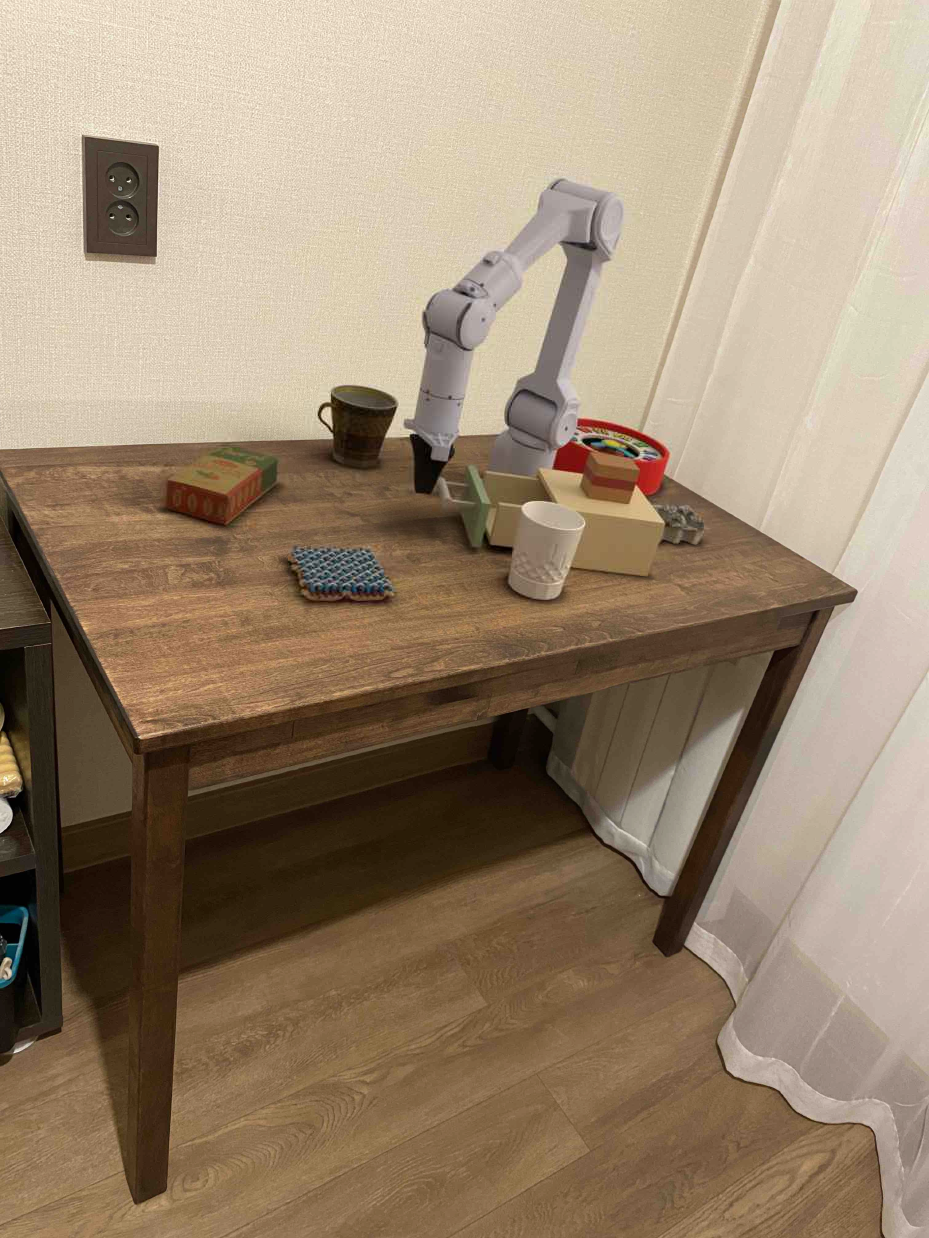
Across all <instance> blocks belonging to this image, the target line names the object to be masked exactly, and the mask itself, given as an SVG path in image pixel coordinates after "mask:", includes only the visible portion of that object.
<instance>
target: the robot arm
mask: <svg viewBox="0 0 929 1238" xmlns="http://www.w3.org/2000/svg"><path fill="white" fill-rule="evenodd" d="M537 202H538V203H537V209H536V212H535V213H534V215H533V216H532V217H531V218H530V220H529V221H528V222H527V223H526V224H525V225H524V227H523V228H522V229H521V230H520V231H519V232H518V234H517V235H516V236H515V237H514V238H513V240H512V241H511V242H510V243H509V245H507V247H506V248H505V249H504V251H499V250H492V251H489V252H487V253H486V254H484V256H483V257H482V259H481V260H480V261H478V263H476V265H475V266H474V267H473V268H472V269H470V271H469V272H468V273H466V274H465V276H464V277H462V279H461V280H459V281H458V282H457V283H456V284H455V285H454V286H453V287H452V288H451V289H450V288H446V289H442V290H439V291H437V292H435V293H434V294H433V295H432V296H431V297H430V299H429V300H428V302H427V303H426V306H425V309H424V310H422V312H421V324H422V328H423V330H424V340H423V345H424V348H425V350H426V353H425V357H424V363H423V368H422V374H421V378H420V384H419V390H418V396H417V400H416V406H415V410H414V411H415V412H414V417H413V418H404V419H403V426H404V429H407V430H412V431H413V432H414V433H410V434H409V440H410V443H411V447H412V453H413V454H412V455H413V486H414V492H415V493H416V494H421V495H429V496H431V495H432V493H433V491H434V489H435V487H436V482H437V480H438V478H440V476H441V474H442V472H443V470H444V468H445V467H446V465H447V464H448V463H449V462H450V461H451V460H452V459H453V457H454V456H455V454H456V450H455V447H454V442H455V441H456V440H457V438H458V437H459V433H460V429H459V426H460V420H461V417H462V416H461V415H462V410H463V406H464V401H465V396H466V392H467V388H468V382H469V377H470V373H471V368H472V363H473V359H474V353H475V349H476V348H478V347H479V346H480V345H481V344H483V343H484V342H485V340H486V339H487V337H488V335H489V333H490V330H491V326H492V325H493V324H494V322H495V321H496V318H497V315H496V314H497V313H498V312H499V311H500V310H501V309H502V308H503V307H504V306H505V305H506V304H507V303H508V302H509V301H510V300H511V299H512V298H513V297H514V296H515V295H516V294H517V293H518V292H519V291H520V290H521V288H522V286H523V283H524V282H523V280H524V279H523V273H525V272H526V271H527V270H528V269H529V268H530V267H531V266H533V265H534V264H535V263H537V262H538V260H540V259H541V258H542V257H544V256H545V255H546V254H547V253H549V251H551V250H552V249H553V248H554V247H556V246H557V245H559V246H561V247H562V251H563V253H564V255H565V257H566V263H565V267H564V272H563V274H562V277H561V280H560V284H559V288H558V291H557V294H556V298H555V300H554V304H553V307H552V310H551V315H550V317H549V321H548V324H547V328H546V331H545V335H544V338H543V341H542V344H541V348H540V351H539V355H538V357H537V361H536V365H535V368H534V371H533V372H531V373H528V374H527V375H524V376H522V377H520V378H518V379H517V380H516V384H515V386H514V389H513V391H512V393H511V394H510V396H509V398H508V399H507V400H506V404H505V405H504V411H503V412H504V413H503V415H504V416H503V417H504V419H503V420H504V423H505V425H506V426H507V427H508V428H507V429H504V430H503V431H502V432H500V433H499V434H498V436H497V437H496V439H494V443H493V444H492V448H491V453H490V457H489V461H488V466H487V470H486V471H491V472H498V473H505V474H512V475H519V476H526V477H533V478H535V477H536V473H537V469H538V468H545V469H552V470H553V464H554V460H555V457H556V453H557V449H558V448H562V447H563V446H564V445H566V444H567V443H568V442H569V441H570V440H571V438H572V437H573V435H574V433H575V430H576V427H577V421H578V419H577V418H578V416H579V409H580V405H581V398H580V396H579V395H578V393H577V391H576V390H575V388H574V387H573V385H572V383H571V381H570V380H571V379H570V378H571V376H572V374H573V373H572V372H573V369H574V366H575V363H576V360H577V357H578V353H579V351H580V347H581V344H582V341H583V337H584V335H585V331H586V328H587V325H588V322H589V318H590V316H591V312H592V309H593V306H594V303H595V299H596V297H597V293H598V290H599V287H600V283H601V280H602V278H603V274H604V270H605V268H606V265H607V263H608V262H611V261H612V260H613V259H614V256H615V253H616V250H617V248H618V245H619V242H620V239H621V235H622V232H623V228H624V226H625V222H626V218H627V213H626V209H625V205H624V200H623V198H622V196H621V194H619V193H617V192H613V191H606V190H603V189H599V188H595V187H591V186H587V185H584V184H580V183H577V182H575V181H574V182H573V181H570V180H568V179H566V178H563V177H557V178H555V179H553V180H552V181H551V182H550V183H549V185H548V186H547V187H546V189H544V190H543V191H541V192H540V196H539V199H538V201H537ZM481 481H482V482H483V478H481Z"/></svg>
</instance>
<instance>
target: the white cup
mask: <svg viewBox="0 0 929 1238" xmlns="http://www.w3.org/2000/svg"><path fill="white" fill-rule="evenodd" d="M584 526H585V520H584V518H583V517H582V516H581V515H580V514H579V513H577V512H576V511H574V510H572V509H570V508H568V507H565V506H562V505H559V504H556V503H551V502H545V501H531V502H527V503H525V504H524V505H523V506H522V508H521V513H520V517H519V522H518V527H517V532H516V536H515V543H514V547H512V553H511V557H510V563H511V564H510V570H509V573H508V579H507V584H508V585H509V586H510V588H511V589H512V590H513V591H515V592H516V593H518V594H520V595H521V596H524V597H527V598H529V599H534V600H540V601H549V600H554V599H556V598H557V597H559V596H560V594H561V592H562V589H563V587H564V583H565V580H566V577H567V575H568V573H569V571H570V569H571V567H570V566H571V563H572V561H573V558H574V555H575V552H576V549H577V546H578V544H579V541H580V538H581V535H582V532H583V529H584Z"/></svg>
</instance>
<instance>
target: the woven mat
mask: <svg viewBox="0 0 929 1238" xmlns="http://www.w3.org/2000/svg"><path fill="white" fill-rule="evenodd" d="M289 553H290V555H291V556H290V555H289V556H287V562H290V563H292V564H291V566H290V569H291V571H292V572H295V573H296V574H297V578H298V580H299V581H298V584H299V585H300V587H301V590H300V594H301V595H303V597H305V599H308V600H311V601H313V602H314V601H315V602H316V601H318V602H321V601H322V602H335V601H339V600H342V599H349V600H353V601H355V602H357V601H358V602H360V601H381V600H384V599H389V600H390V599H392V598H393V597H395V593H394V592H393V586H392V585H391V584H392V581H390V580H389V579H387V578H388V574H387V573H385V570H384V569H383V567H382V566H381V565H382V564H381V562H380V561H378V560H377V558H378V556H376V555H375V552H374V551H373V552H372V550H371V549H369V548H365V550H364V548H363V547H362V546H361V547H359V550H358V549H357V548H352V549H351V547H350V546H349V547H346V550H345V548H339V549H338V547H337V546H334V547H333V548H326V549H325V547H324V546H320V547H319V548H318V547H313V549H312V548H311V545H307V547H306V548H305V547H300V550H299V549H298V545H293V549H292V551H290V552H289ZM386 577H387V578H386ZM303 587H304V588H303Z"/></svg>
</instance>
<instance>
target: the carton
mask: <svg viewBox="0 0 929 1238" xmlns="http://www.w3.org/2000/svg"><path fill="white" fill-rule="evenodd" d="M278 466H279V458H278V457H277V456H273V455H269V454H265V453H262V452H258V451H254V450H249V449H246V448H242V447H238V446H235V445H231V444H227V443H222V444H220V445H219V446H217V447H215V448H214V449H212V450H211V451H209V452H208V453H206V454H205V455H203V456H202V457H201V458H199V459H196V460H195V461H194V462H192V463H191V464H189V465H188V466H186V467H185V468H182V470H179V472H177V473H176V474H173V475H172V476H171V477H169V478H167V480H166V486H165V506H164V508H165V509H168V510H171V511H174V512H178V513H182V514H185V515H187V516H188V515H189V516H192V517H195V518H198V519H201V520H205V521H209V522H212V523H216V524H220V525H225V526H226V525H228V524H230V523H231V522H232V521H234V519H235V518H237V517H238V516H239V515H240V514H241V513H242V512H244V511H245V510H246V509H248V508H249V507H250V506H251V505H252V504H253V503H255V502H256V501H257V500H258V499H260V498H261V497H262V496H264V494H266V493H267V492H269V491H270V490H272V489H273V488H274V487H275V486H276V485H277V478H278Z"/></svg>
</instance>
